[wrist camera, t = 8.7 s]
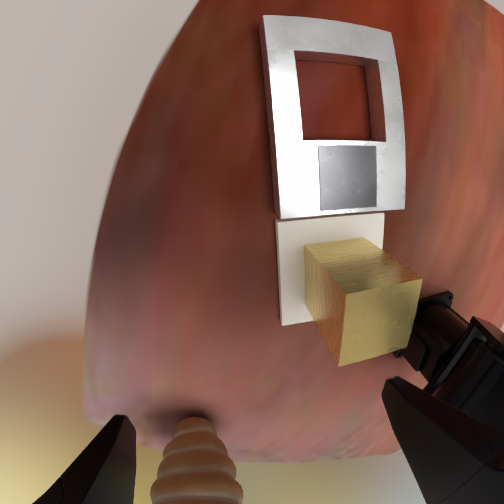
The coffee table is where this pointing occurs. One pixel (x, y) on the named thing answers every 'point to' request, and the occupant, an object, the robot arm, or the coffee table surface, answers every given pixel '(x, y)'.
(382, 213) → the coaster
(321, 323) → the brass metal cube
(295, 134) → the white flat frame
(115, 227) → the coffee table surface
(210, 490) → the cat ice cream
